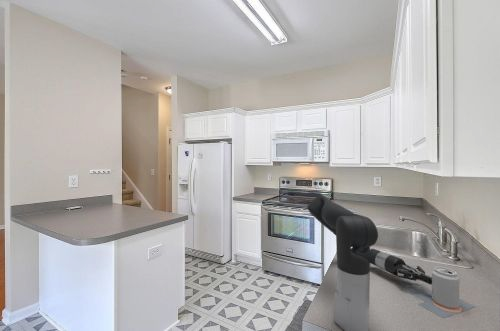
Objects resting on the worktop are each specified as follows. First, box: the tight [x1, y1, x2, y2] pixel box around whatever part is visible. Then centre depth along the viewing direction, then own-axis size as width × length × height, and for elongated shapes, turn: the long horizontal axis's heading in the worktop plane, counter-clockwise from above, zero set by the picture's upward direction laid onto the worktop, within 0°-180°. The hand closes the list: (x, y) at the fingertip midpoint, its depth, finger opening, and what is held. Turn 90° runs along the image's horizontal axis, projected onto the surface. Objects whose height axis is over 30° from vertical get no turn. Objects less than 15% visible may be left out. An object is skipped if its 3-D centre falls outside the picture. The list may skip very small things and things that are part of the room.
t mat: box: [399, 283, 476, 319], centre depth 86 cm, size 18×18×1 cm
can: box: [431, 266, 461, 309], centre depth 83 cm, size 8×8×12 cm
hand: (432, 281), depth 86 cm, fingers closed
